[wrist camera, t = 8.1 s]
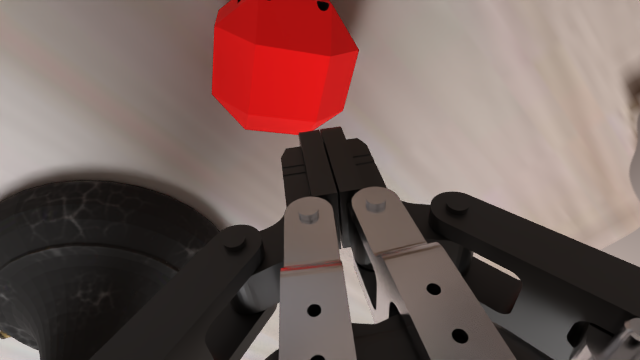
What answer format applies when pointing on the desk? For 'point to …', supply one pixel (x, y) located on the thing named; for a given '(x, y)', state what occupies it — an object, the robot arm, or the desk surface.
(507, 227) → the robot arm
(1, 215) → the banker's lamp
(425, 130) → the desk surface
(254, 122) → the ball
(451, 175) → the desk surface
